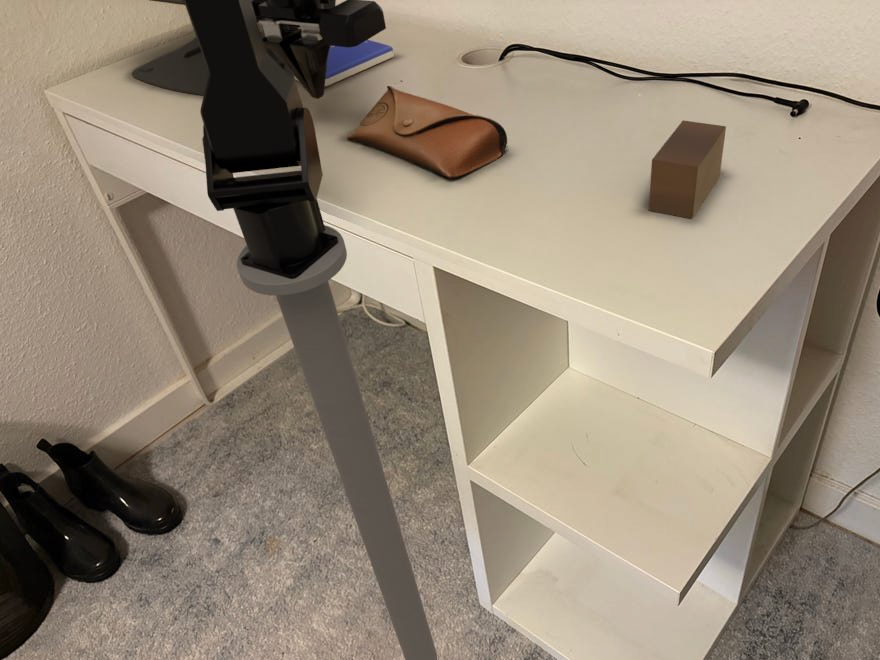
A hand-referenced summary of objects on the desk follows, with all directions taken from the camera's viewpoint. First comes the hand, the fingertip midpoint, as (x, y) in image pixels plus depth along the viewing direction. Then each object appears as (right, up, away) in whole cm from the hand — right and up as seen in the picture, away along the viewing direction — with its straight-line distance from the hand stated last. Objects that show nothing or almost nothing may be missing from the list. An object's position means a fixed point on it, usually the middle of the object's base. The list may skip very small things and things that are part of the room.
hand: (318, 97), depth 84 cm
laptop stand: (-17, +13, +23) cm, 32 cm away
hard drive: (-1, +10, +17) cm, 20 cm away
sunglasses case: (+12, -7, -3) cm, 14 cm away
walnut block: (+37, -14, -16) cm, 43 cm away
